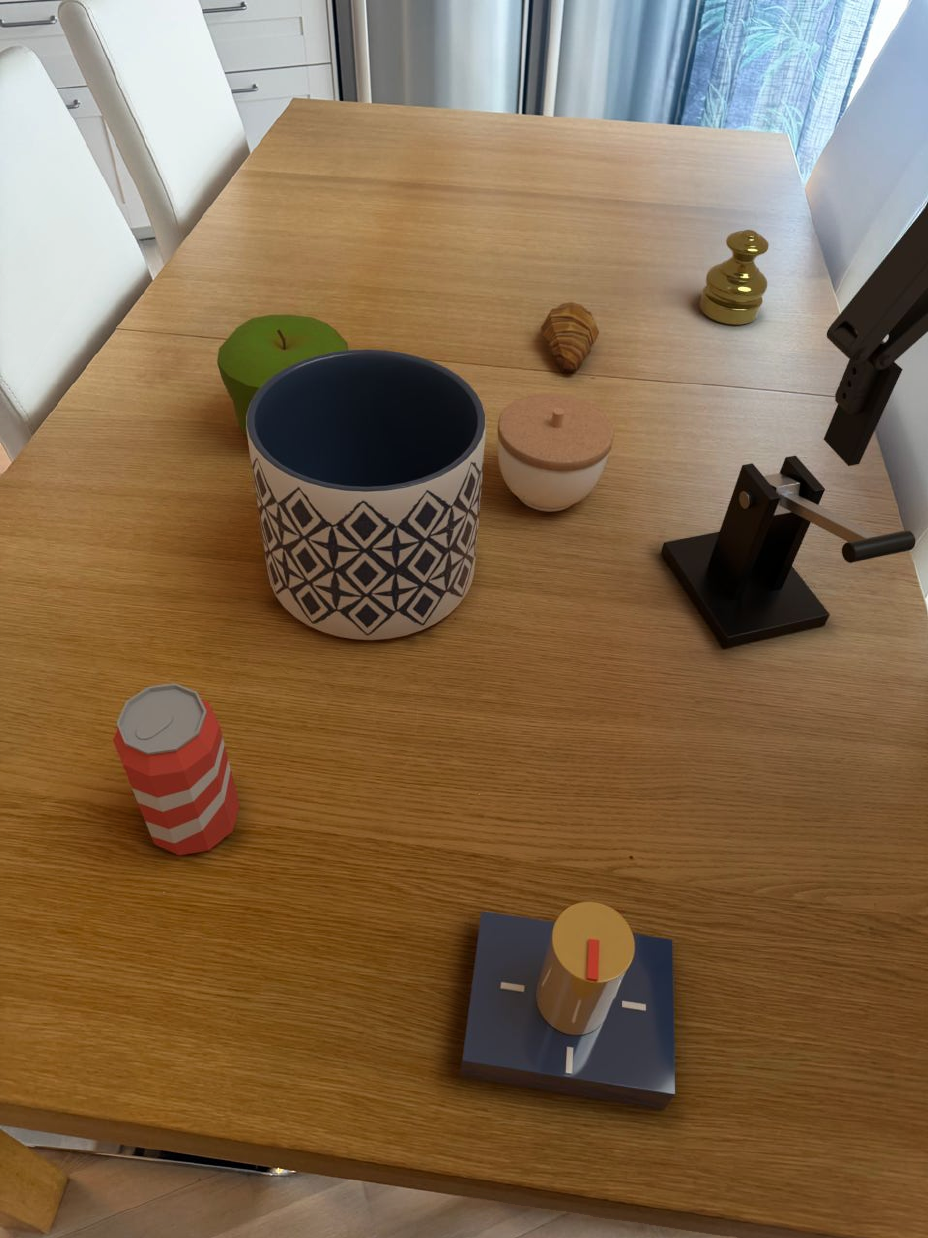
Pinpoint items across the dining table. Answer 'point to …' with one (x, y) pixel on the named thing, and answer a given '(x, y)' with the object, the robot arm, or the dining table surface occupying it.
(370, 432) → the planter
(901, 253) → the robot arm
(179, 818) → the beverage can
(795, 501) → the faucet lever
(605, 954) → the valve knob
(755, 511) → the black angular piece
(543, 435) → the trinket box
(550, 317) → the croissant
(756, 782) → the dining table surface
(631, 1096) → the valve plate
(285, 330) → the apple
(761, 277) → the gold metal turned piece
